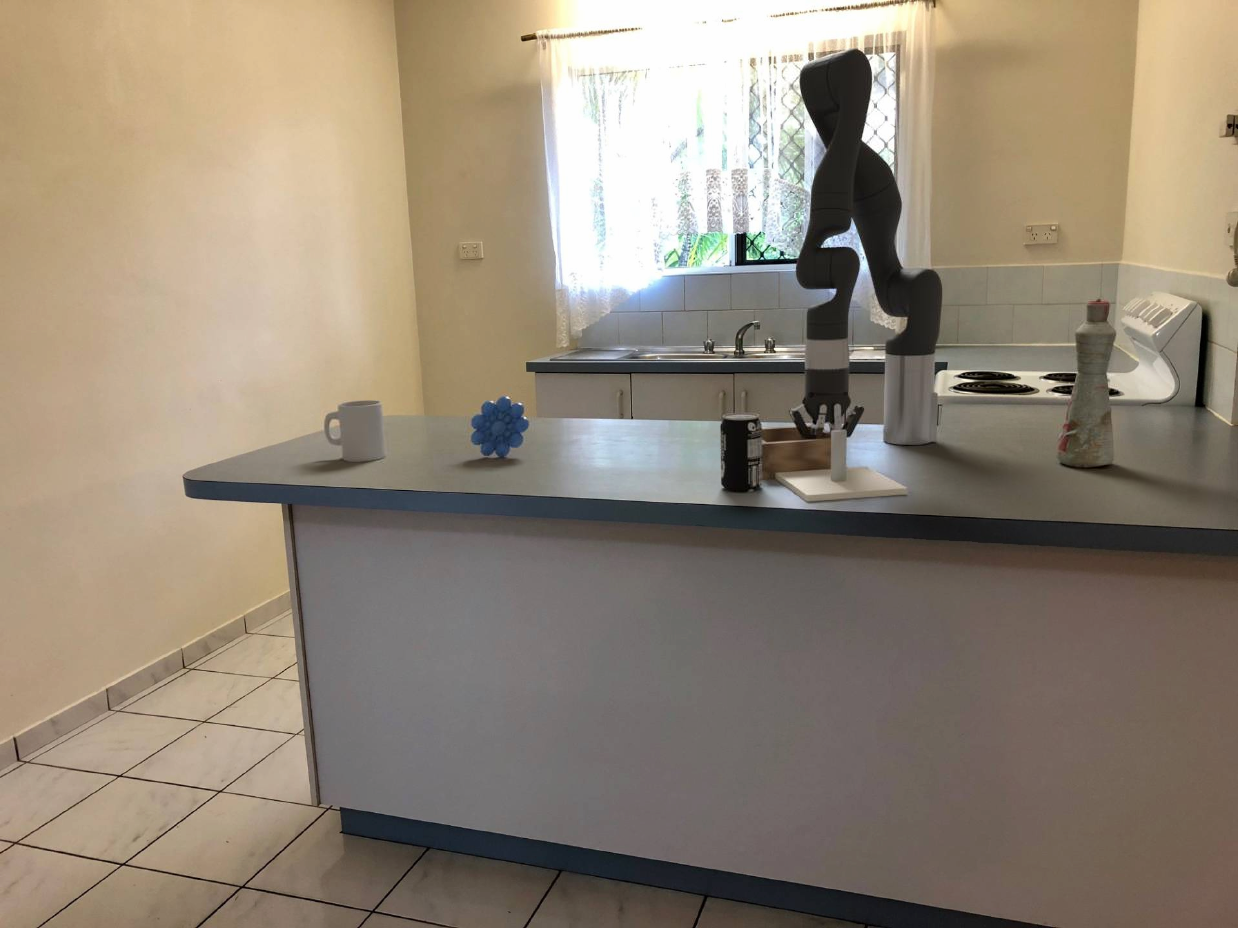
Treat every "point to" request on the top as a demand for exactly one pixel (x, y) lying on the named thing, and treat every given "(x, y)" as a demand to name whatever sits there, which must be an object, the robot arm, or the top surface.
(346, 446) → the mug
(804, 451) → the collar
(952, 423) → the top surface
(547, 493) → the top surface
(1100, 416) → the bottle
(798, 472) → the white square baseplate
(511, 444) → the blue flower ornament
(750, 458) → the beverage can
